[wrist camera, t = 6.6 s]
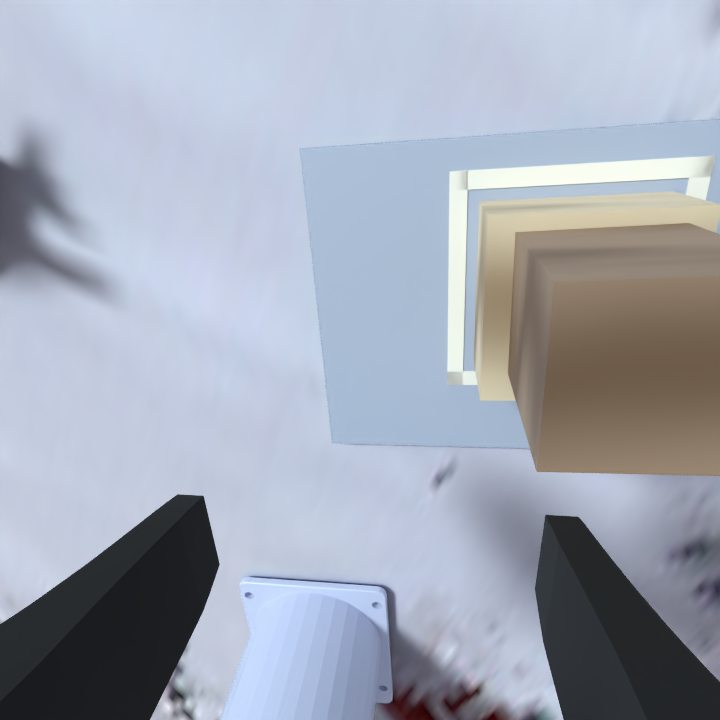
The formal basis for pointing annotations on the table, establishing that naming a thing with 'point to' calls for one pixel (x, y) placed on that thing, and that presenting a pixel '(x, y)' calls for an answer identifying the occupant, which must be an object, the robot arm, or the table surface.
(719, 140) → the board
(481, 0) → the table surface
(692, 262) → the walnut block
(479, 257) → the oak slab
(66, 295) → the table surface
